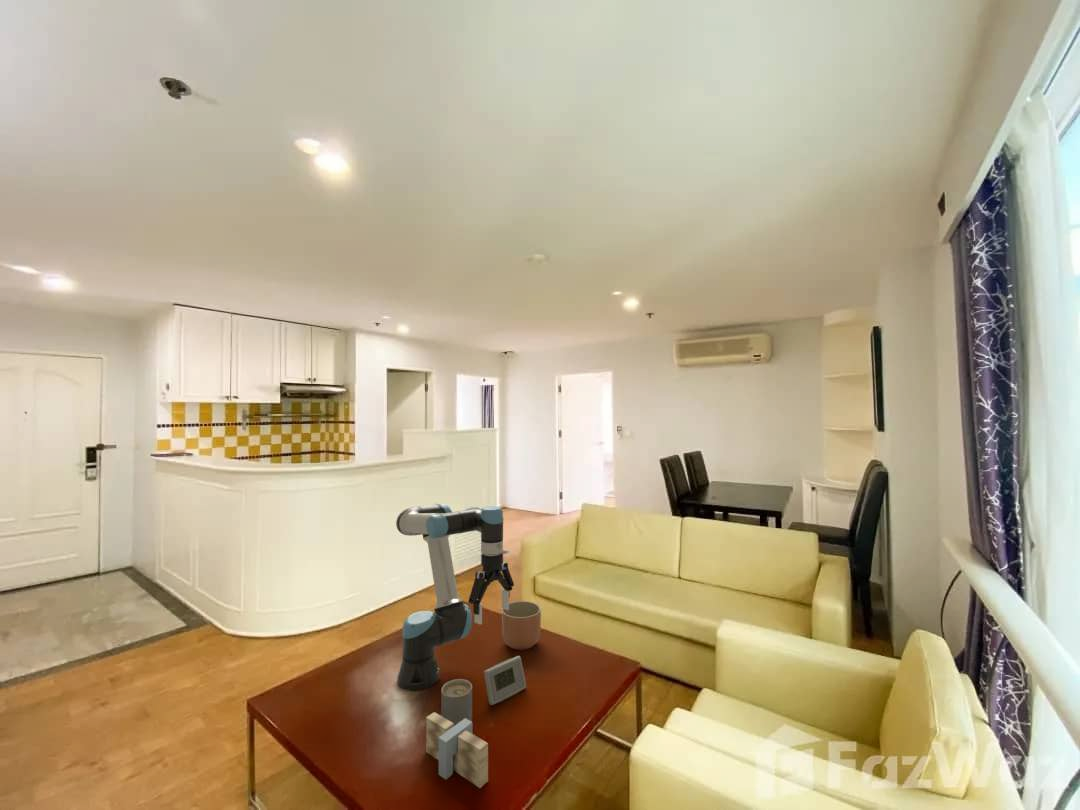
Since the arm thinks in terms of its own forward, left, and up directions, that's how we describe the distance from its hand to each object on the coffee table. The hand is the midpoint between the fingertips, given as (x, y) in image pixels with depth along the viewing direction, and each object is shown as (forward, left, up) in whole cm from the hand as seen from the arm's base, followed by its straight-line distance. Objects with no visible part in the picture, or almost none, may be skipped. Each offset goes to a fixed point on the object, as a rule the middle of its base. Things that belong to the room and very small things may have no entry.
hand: (492, 615), depth 153 cm
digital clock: (-1, +8, -31) cm, 32 cm away
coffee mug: (-7, -10, -31) cm, 33 cm away
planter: (-19, +39, -31) cm, 53 cm away
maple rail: (+9, -25, -31) cm, 41 cm away
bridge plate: (+9, -25, -31) cm, 41 cm away
